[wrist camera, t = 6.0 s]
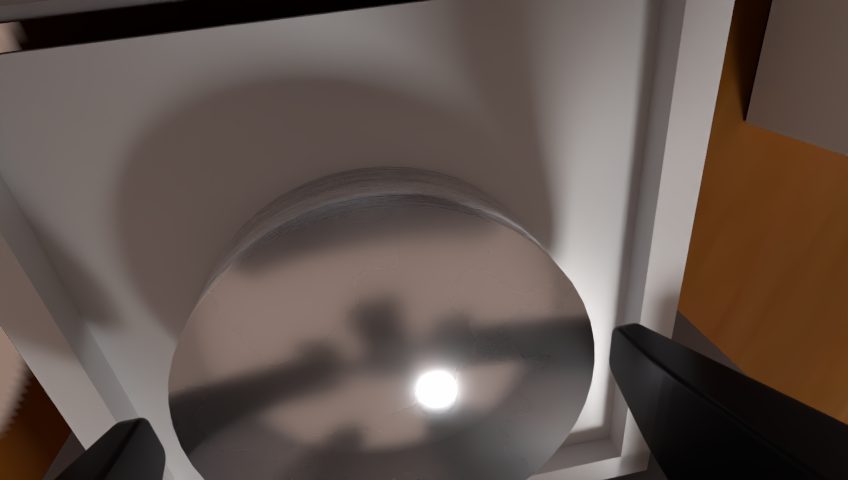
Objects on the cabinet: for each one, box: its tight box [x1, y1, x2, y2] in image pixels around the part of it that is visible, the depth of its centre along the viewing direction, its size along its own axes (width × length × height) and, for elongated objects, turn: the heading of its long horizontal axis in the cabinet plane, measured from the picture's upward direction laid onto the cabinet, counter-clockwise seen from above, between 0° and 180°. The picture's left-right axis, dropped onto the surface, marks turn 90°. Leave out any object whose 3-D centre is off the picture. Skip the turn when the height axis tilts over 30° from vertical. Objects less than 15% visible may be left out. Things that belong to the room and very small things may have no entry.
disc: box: [168, 166, 595, 480], centre depth 9 cm, size 7×7×2 cm
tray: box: [0, 0, 735, 480], centre depth 8 cm, size 14×15×6 cm
